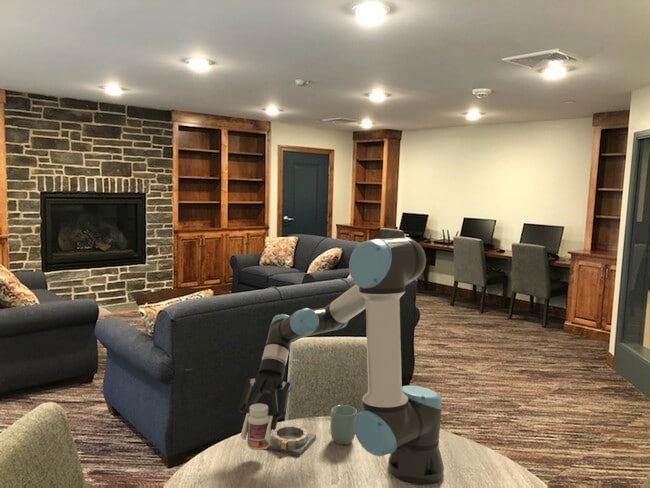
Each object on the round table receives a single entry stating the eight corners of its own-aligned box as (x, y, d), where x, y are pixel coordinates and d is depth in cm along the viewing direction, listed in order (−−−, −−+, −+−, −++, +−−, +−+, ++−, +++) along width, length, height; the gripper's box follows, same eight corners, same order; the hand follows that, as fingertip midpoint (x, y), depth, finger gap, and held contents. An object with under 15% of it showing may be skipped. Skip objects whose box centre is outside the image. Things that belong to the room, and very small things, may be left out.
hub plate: (316, 438, 166) (316, 428, 166) (299, 457, 155) (299, 446, 154) (280, 430, 170) (281, 421, 170) (261, 448, 159) (262, 437, 159)
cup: (360, 440, 166) (361, 409, 165) (347, 450, 160) (348, 417, 158) (338, 433, 170) (339, 402, 169) (325, 442, 164) (326, 411, 163)
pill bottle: (273, 447, 151) (274, 408, 150) (253, 453, 148) (253, 413, 147) (263, 438, 157) (264, 401, 155) (243, 443, 153) (244, 405, 152)
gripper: (306, 371, 164) (290, 448, 150) (246, 366, 168) (225, 440, 154) (302, 360, 158) (285, 438, 144) (240, 354, 162) (218, 430, 148)
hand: (254, 439), depth 149 cm, fingers closed on pill bottle, 6 cm apart
